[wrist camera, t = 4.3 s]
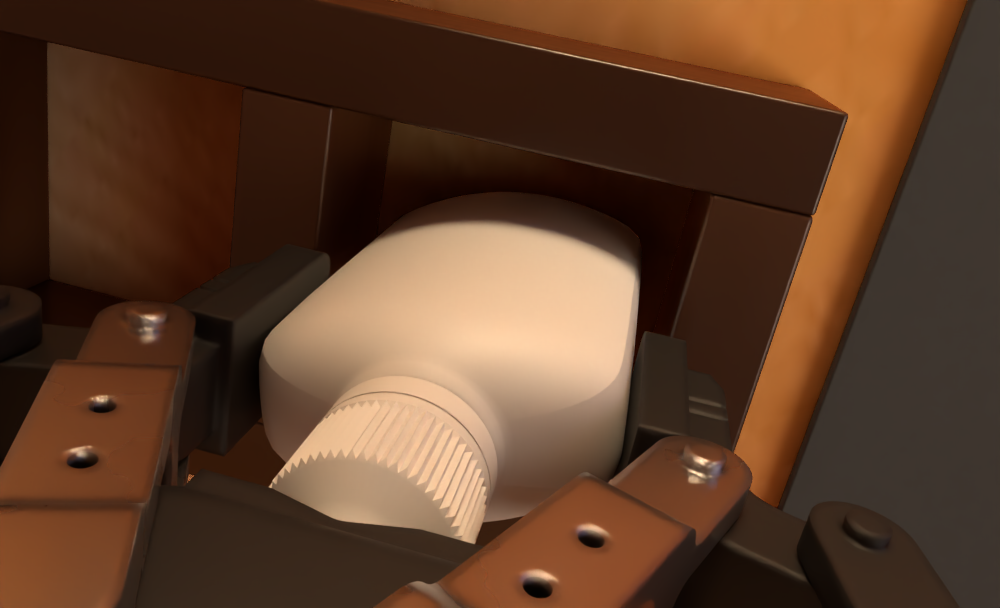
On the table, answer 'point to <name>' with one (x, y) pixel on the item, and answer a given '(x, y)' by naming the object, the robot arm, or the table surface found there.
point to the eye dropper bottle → (458, 365)
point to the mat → (927, 341)
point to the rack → (451, 109)
